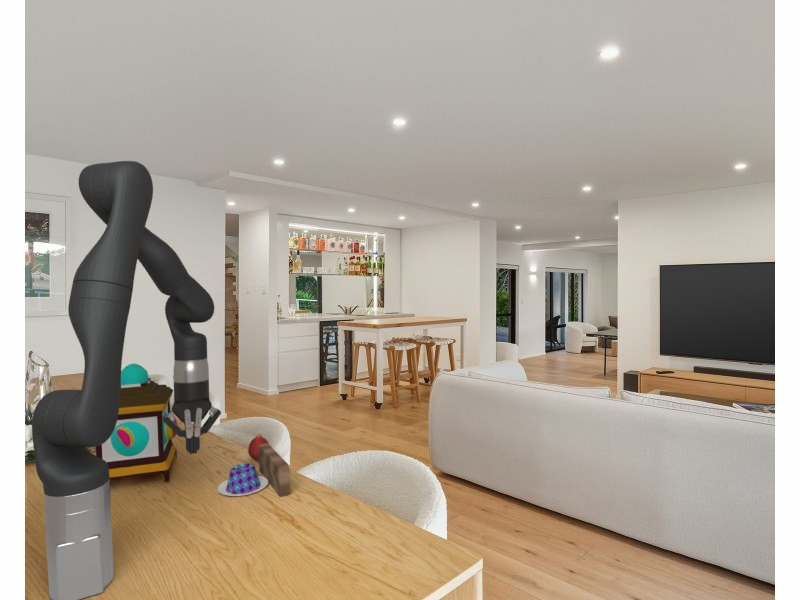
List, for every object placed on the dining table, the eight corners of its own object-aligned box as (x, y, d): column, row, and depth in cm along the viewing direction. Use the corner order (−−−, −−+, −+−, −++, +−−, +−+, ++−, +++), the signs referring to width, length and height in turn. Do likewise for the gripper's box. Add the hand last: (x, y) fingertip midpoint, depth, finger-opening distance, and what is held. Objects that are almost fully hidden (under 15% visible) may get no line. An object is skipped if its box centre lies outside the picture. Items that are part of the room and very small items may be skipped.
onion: (248, 466, 133) (247, 437, 133) (249, 459, 139) (248, 431, 139) (270, 464, 135) (269, 435, 135) (270, 456, 141) (269, 429, 140)
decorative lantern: (182, 457, 141) (178, 355, 140) (174, 484, 123) (169, 366, 121) (104, 467, 135) (99, 360, 134) (83, 497, 116) (76, 373, 115)
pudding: (253, 474, 129) (252, 454, 129) (277, 487, 120) (276, 466, 120) (209, 488, 120) (208, 467, 120) (231, 503, 112) (230, 481, 112)
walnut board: (290, 494, 115) (289, 465, 115) (279, 497, 114) (279, 467, 114) (268, 468, 132) (267, 443, 131) (259, 470, 131) (258, 444, 130)
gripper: (161, 384, 106) (162, 463, 106) (224, 377, 113) (225, 452, 113) (158, 379, 112) (160, 453, 113) (218, 373, 119) (219, 443, 119)
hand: (193, 452), depth 113 cm, fingers closed
